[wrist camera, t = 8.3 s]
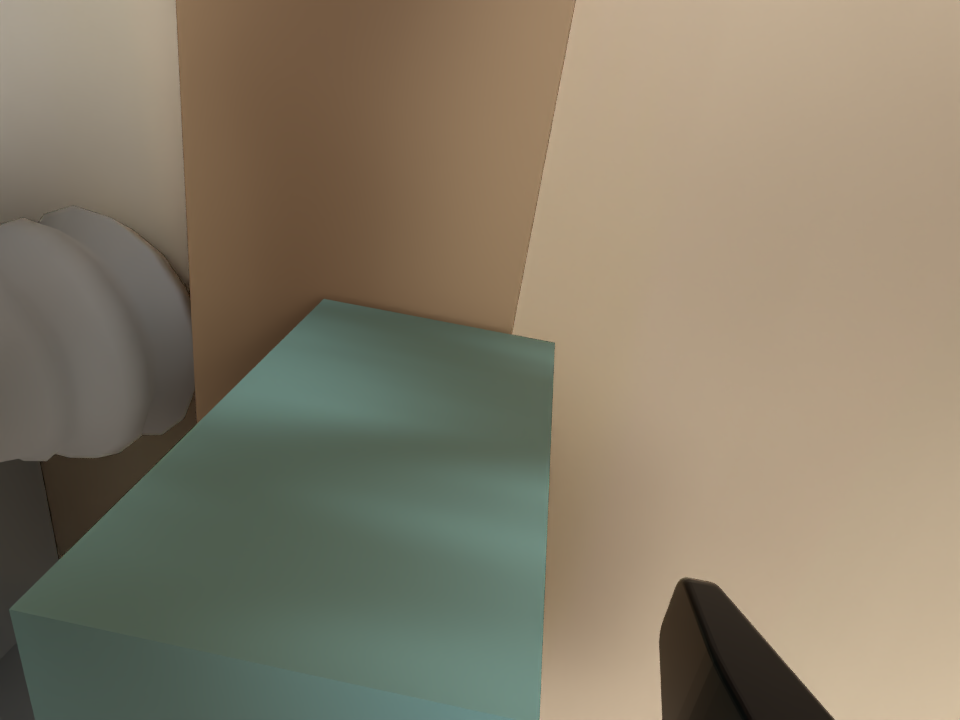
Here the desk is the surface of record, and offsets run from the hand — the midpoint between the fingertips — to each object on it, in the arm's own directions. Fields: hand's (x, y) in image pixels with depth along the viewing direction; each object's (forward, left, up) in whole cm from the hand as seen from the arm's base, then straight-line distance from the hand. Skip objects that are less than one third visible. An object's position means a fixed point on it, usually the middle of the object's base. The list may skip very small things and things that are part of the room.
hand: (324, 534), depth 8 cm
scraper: (0, 0, -5) cm, 5 cm away
